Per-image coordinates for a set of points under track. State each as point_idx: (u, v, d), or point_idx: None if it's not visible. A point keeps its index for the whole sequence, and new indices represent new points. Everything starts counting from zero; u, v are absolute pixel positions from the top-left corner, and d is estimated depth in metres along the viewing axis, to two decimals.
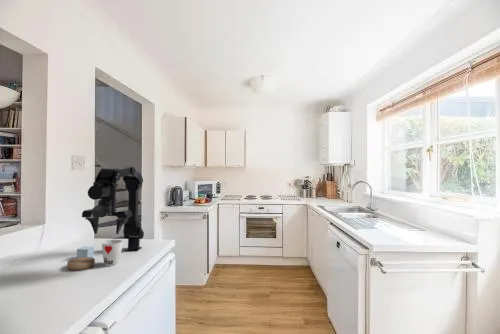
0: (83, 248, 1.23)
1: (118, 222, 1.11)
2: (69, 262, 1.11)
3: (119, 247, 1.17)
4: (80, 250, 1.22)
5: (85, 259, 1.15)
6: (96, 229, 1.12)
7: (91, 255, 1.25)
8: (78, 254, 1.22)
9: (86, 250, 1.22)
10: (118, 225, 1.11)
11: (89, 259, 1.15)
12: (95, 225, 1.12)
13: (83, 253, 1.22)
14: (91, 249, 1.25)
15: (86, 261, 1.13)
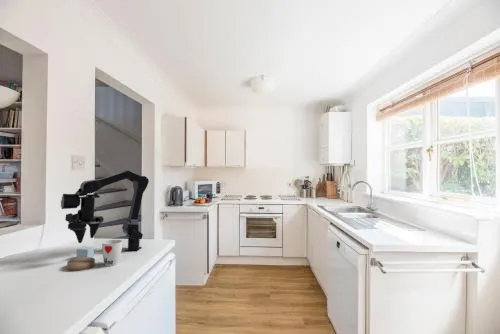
0: (83, 248, 1.23)
1: None
2: (69, 262, 1.11)
3: (119, 247, 1.17)
4: (80, 250, 1.22)
5: (85, 259, 1.15)
6: (92, 234, 1.29)
7: (91, 255, 1.25)
8: (78, 254, 1.22)
9: (86, 250, 1.22)
10: None
11: (89, 259, 1.15)
12: (91, 230, 1.29)
13: (83, 253, 1.22)
14: (91, 249, 1.25)
15: (86, 261, 1.13)
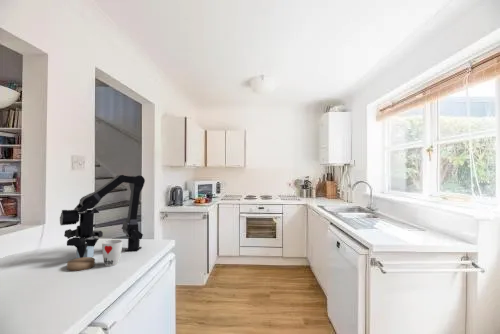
0: None
1: None
2: (69, 262, 1.11)
3: (119, 247, 1.17)
4: None
5: (85, 259, 1.15)
6: None
7: (91, 255, 1.25)
8: (78, 254, 1.22)
9: (86, 250, 1.22)
10: None
11: (89, 259, 1.15)
12: None
13: None
14: (91, 249, 1.25)
15: (86, 261, 1.13)
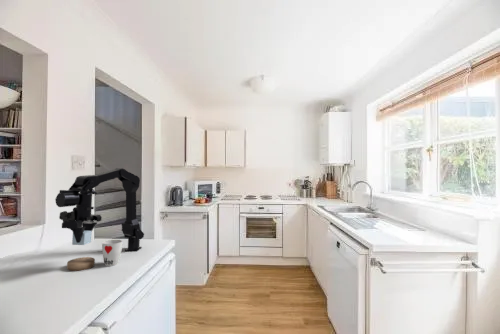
0: None
1: None
2: (69, 262, 1.11)
3: (119, 247, 1.17)
4: None
5: (85, 259, 1.15)
6: None
7: (88, 240, 1.14)
8: (74, 238, 1.11)
9: (83, 234, 1.11)
10: None
11: (89, 259, 1.15)
12: None
13: None
14: (88, 233, 1.14)
15: (86, 261, 1.13)
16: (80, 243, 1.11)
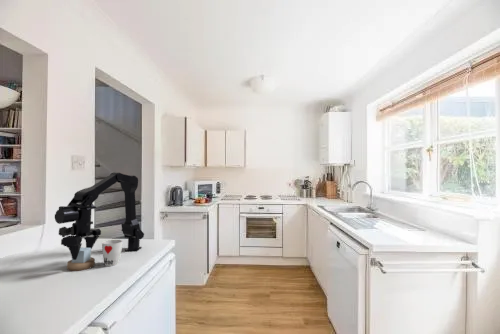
0: None
1: None
2: (69, 262, 1.11)
3: (119, 247, 1.17)
4: None
5: None
6: None
7: (88, 257, 1.14)
8: None
9: (82, 252, 1.11)
10: None
11: None
12: (87, 244, 1.18)
13: (79, 255, 1.11)
14: (88, 250, 1.14)
15: (86, 261, 1.13)
16: (79, 261, 1.11)
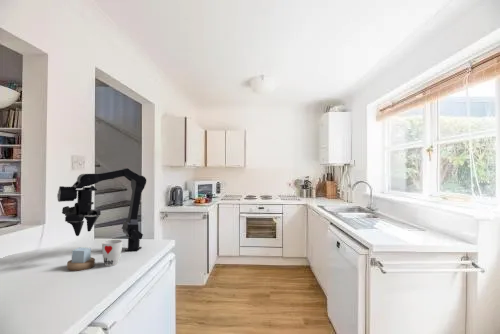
0: (79, 249, 1.12)
1: None
2: (69, 262, 1.11)
3: (119, 247, 1.17)
4: (76, 252, 1.11)
5: None
6: (89, 227, 1.28)
7: (88, 257, 1.14)
8: (74, 256, 1.11)
9: (82, 252, 1.11)
10: None
11: None
12: (88, 224, 1.28)
13: (79, 255, 1.11)
14: (88, 250, 1.14)
15: (86, 261, 1.13)
16: (79, 261, 1.11)
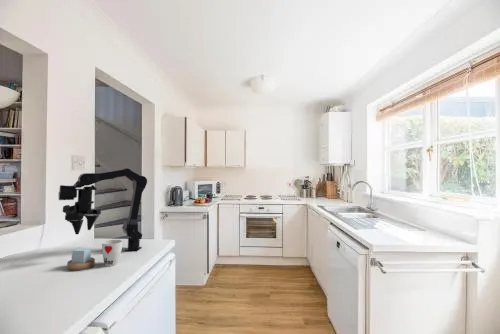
0: (79, 249, 1.12)
1: None
2: (69, 262, 1.11)
3: (119, 247, 1.17)
4: (76, 252, 1.11)
5: None
6: (89, 226, 1.30)
7: (88, 257, 1.14)
8: (74, 256, 1.11)
9: (82, 252, 1.11)
10: None
11: None
12: (88, 222, 1.30)
13: (79, 255, 1.11)
14: (88, 250, 1.14)
15: (86, 261, 1.13)
16: (79, 261, 1.11)
